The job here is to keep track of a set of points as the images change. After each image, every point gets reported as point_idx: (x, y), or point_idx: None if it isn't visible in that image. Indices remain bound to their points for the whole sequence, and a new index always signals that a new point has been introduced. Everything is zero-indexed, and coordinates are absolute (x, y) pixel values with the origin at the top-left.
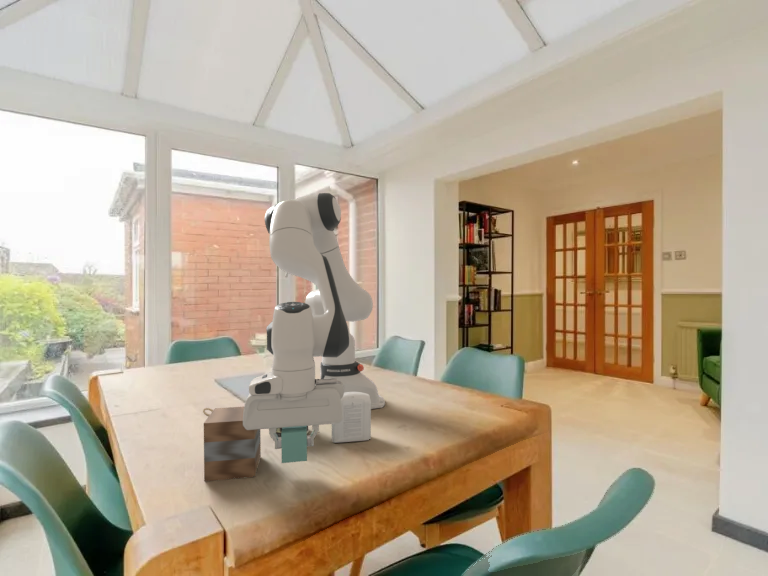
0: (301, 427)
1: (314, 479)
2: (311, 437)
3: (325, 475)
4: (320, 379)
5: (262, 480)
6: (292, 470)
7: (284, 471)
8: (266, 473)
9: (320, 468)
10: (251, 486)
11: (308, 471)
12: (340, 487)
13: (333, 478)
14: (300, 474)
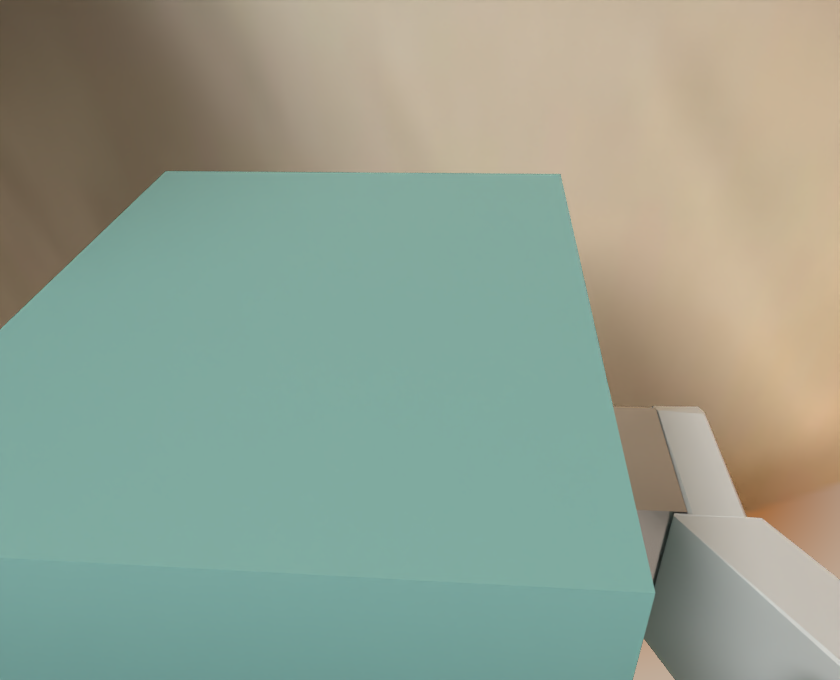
0: None
1: (598, 287)
2: (663, 646)
3: (728, 231)
4: None
5: (81, 203)
6: (358, 26)
7: (263, 34)
8: (59, 46)
9: (717, 40)
10: (26, 291)
11: (554, 96)
12: (793, 453)
13: (790, 307)
14: (459, 153)
